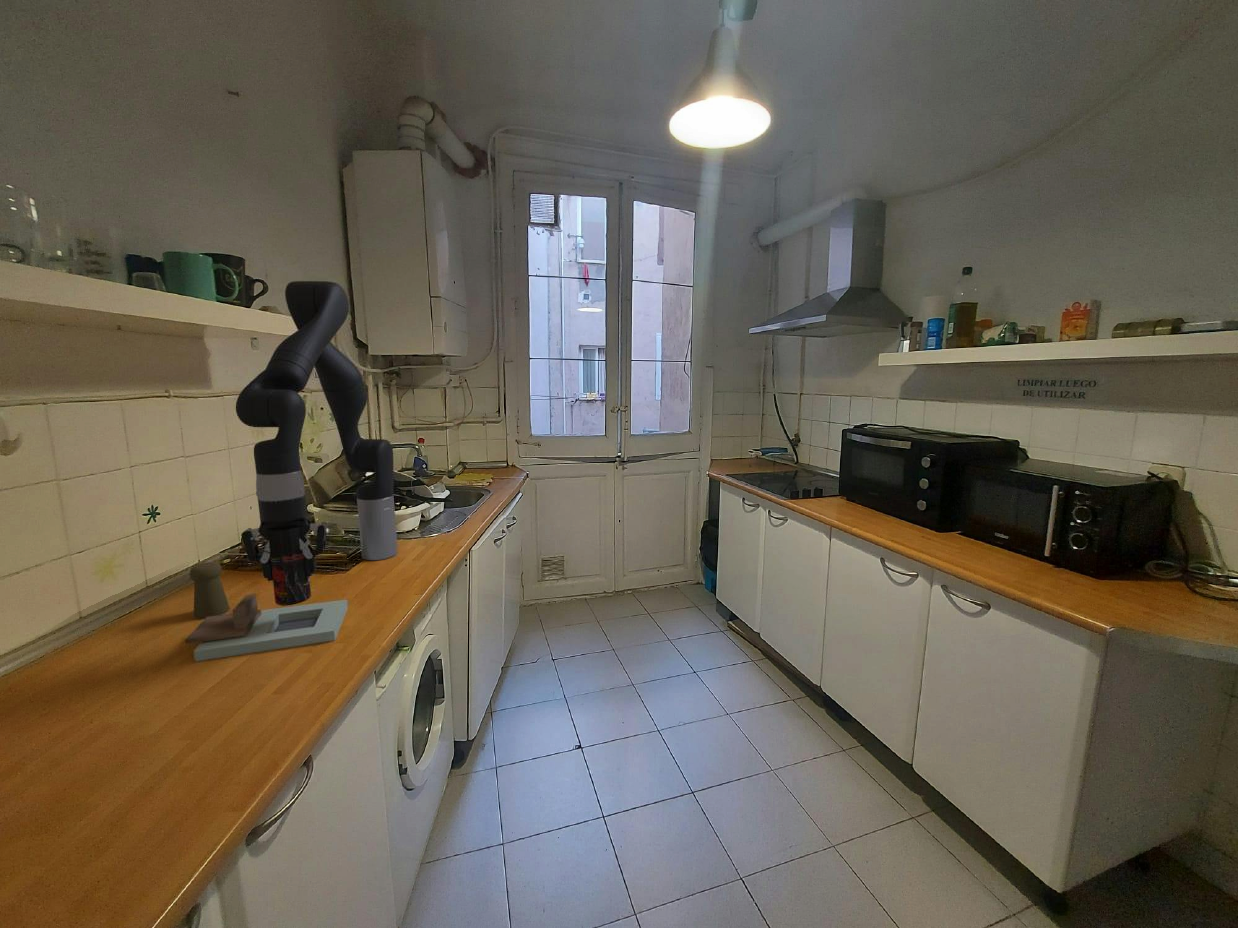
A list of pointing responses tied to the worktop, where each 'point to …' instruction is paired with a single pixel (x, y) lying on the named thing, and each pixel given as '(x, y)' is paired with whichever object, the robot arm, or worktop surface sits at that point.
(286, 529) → the deodorant
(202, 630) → the cover
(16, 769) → the worktop surface
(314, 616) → the socket board
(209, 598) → the cork
